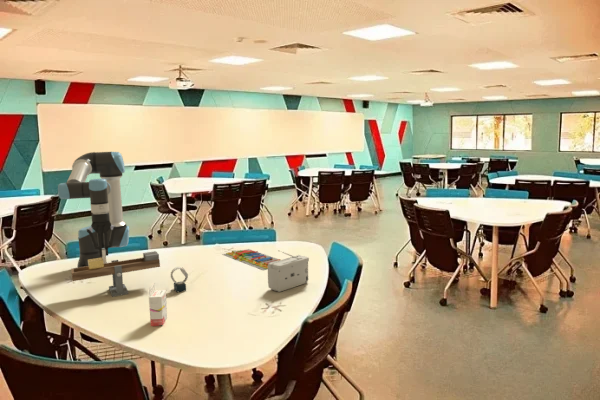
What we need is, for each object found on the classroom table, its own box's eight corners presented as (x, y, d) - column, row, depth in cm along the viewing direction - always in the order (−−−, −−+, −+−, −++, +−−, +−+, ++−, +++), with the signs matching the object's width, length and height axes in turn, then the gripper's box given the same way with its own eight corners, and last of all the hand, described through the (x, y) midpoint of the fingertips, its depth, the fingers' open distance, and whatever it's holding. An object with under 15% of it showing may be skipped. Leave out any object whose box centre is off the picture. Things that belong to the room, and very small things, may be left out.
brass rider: (88, 270, 214) (87, 259, 213) (102, 267, 217) (101, 257, 216) (89, 273, 209) (88, 262, 208) (104, 270, 212) (103, 260, 211)
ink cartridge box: (163, 326, 178) (161, 289, 176) (150, 326, 178) (147, 290, 176) (167, 317, 187) (165, 282, 185) (155, 318, 186) (153, 282, 184)
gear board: (222, 251, 283) (248, 246, 295) (222, 255, 284) (248, 250, 296) (263, 266, 248) (291, 260, 260) (263, 271, 249) (291, 264, 261)
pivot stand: (108, 288, 223) (106, 260, 221) (124, 286, 226) (122, 258, 224) (112, 297, 211) (110, 267, 209) (128, 294, 215) (126, 265, 213)
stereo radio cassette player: (299, 279, 232) (298, 240, 229) (310, 283, 226) (310, 243, 224) (267, 289, 218) (266, 248, 215) (279, 293, 212) (277, 251, 209)
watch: (190, 289, 219) (189, 267, 218) (173, 293, 215) (171, 270, 214) (187, 286, 224) (185, 264, 223) (170, 289, 220) (168, 267, 219)
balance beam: (71, 275, 212) (70, 263, 211) (156, 262, 230) (155, 250, 229) (72, 281, 204) (71, 268, 204) (160, 266, 222) (159, 254, 221)
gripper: (85, 215, 204) (89, 266, 208) (116, 212, 211) (120, 262, 214) (84, 213, 211) (88, 263, 214) (114, 210, 217) (118, 258, 221)
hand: (104, 262), depth 214 cm, fingers closed
